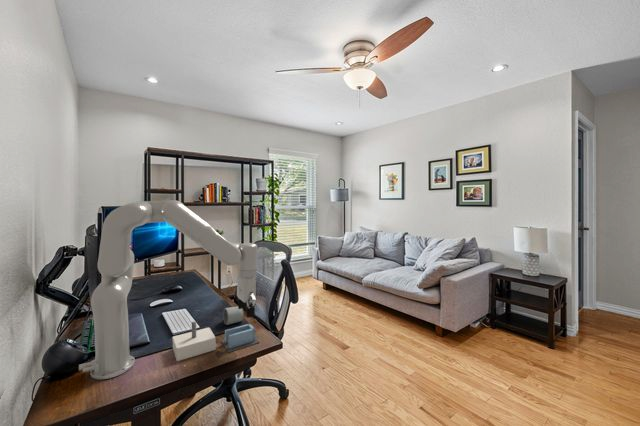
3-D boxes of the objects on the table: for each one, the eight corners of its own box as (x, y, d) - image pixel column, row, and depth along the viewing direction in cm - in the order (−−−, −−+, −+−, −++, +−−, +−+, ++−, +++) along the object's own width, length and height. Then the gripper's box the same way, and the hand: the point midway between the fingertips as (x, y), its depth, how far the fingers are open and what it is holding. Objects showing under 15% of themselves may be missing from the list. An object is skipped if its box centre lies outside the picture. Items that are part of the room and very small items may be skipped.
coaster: (228, 352, 109) (228, 351, 109) (221, 341, 117) (221, 340, 117) (259, 342, 117) (259, 341, 117) (250, 332, 125) (250, 331, 125)
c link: (229, 348, 111) (229, 336, 111) (224, 341, 116) (224, 330, 116) (255, 340, 118) (255, 329, 117) (250, 334, 122) (250, 323, 122)
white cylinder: (244, 323, 134) (244, 307, 133) (227, 327, 129) (227, 311, 128) (236, 315, 142) (236, 300, 142) (220, 319, 137) (220, 304, 137)
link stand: (176, 361, 103) (176, 332, 102) (172, 348, 111) (172, 322, 110) (215, 349, 111) (215, 323, 110) (209, 338, 119) (209, 313, 118)
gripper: (231, 268, 121) (230, 306, 122) (246, 279, 107) (244, 322, 108) (248, 266, 126) (247, 303, 127) (264, 277, 112) (262, 318, 113)
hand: (246, 312), depth 117 cm, fingers open, 9 cm apart
